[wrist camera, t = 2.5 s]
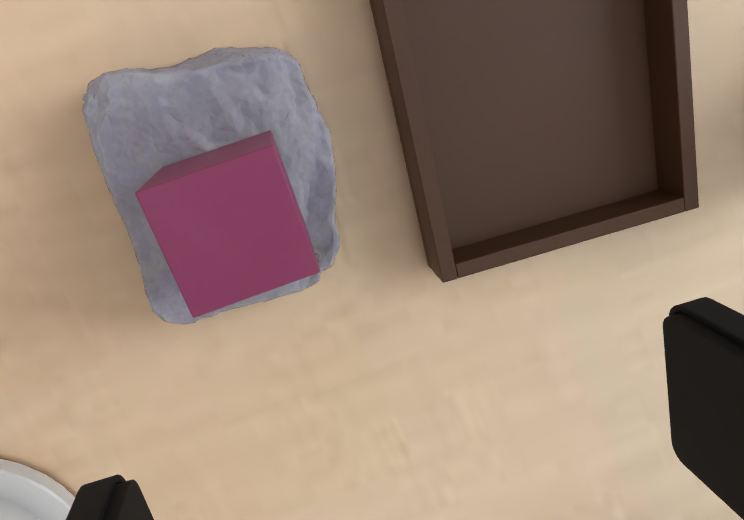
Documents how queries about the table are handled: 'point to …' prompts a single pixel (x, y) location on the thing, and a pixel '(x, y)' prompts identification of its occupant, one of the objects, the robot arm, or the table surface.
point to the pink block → (229, 224)
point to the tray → (538, 121)
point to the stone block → (210, 146)
